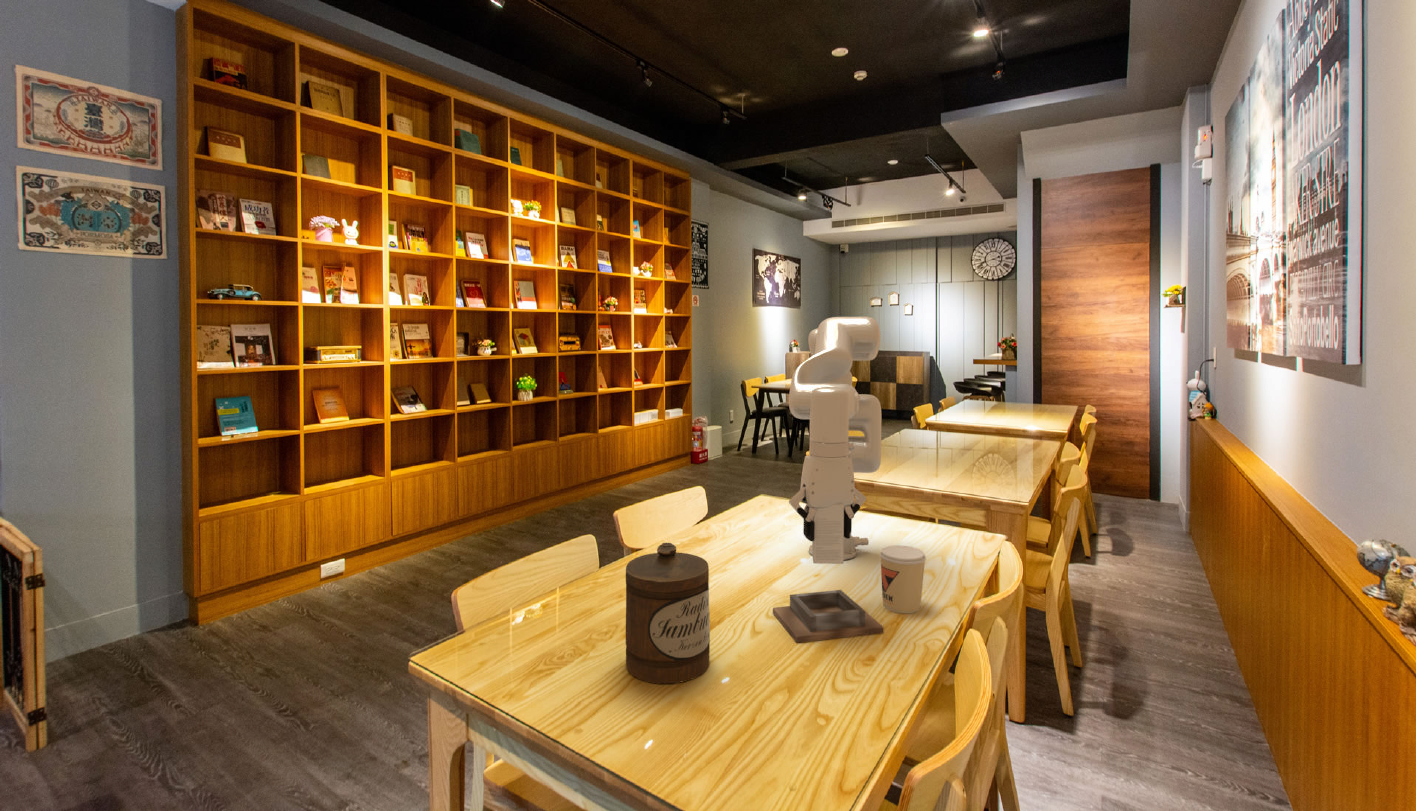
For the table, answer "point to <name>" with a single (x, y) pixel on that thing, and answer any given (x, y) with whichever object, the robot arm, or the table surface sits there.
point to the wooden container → (667, 616)
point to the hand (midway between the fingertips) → (827, 537)
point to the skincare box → (828, 535)
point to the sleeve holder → (825, 617)
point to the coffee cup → (902, 578)
